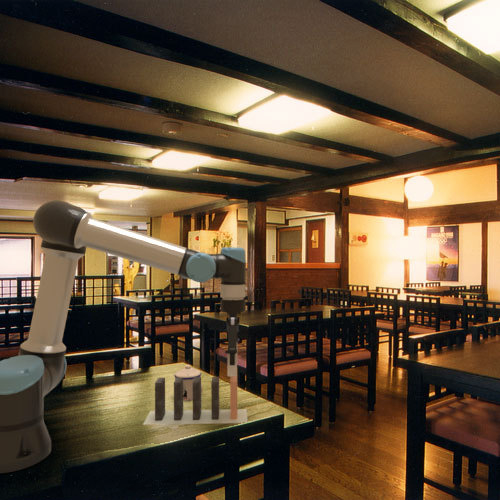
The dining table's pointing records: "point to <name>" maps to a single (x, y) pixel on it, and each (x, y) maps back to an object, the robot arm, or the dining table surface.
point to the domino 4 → (215, 398)
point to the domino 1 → (159, 399)
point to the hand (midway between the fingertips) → (232, 369)
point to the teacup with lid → (188, 381)
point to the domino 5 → (233, 397)
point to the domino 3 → (196, 398)
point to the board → (204, 419)
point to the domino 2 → (178, 398)
